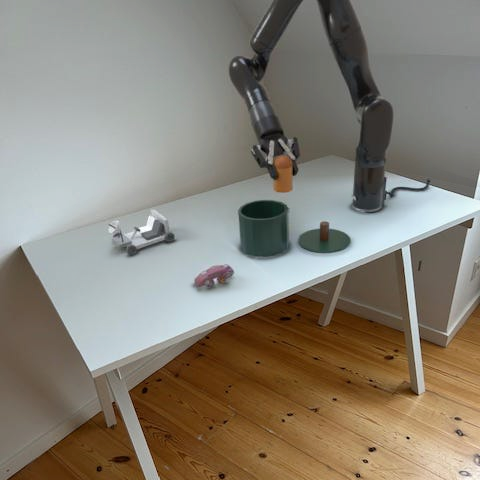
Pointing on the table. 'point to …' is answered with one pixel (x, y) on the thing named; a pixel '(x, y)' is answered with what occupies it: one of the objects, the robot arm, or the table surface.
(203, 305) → the table surface
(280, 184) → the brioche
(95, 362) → the table surface
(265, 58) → the robot arm
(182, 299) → the table surface
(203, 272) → the video game controller
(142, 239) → the toy car
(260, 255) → the pot
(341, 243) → the lid
